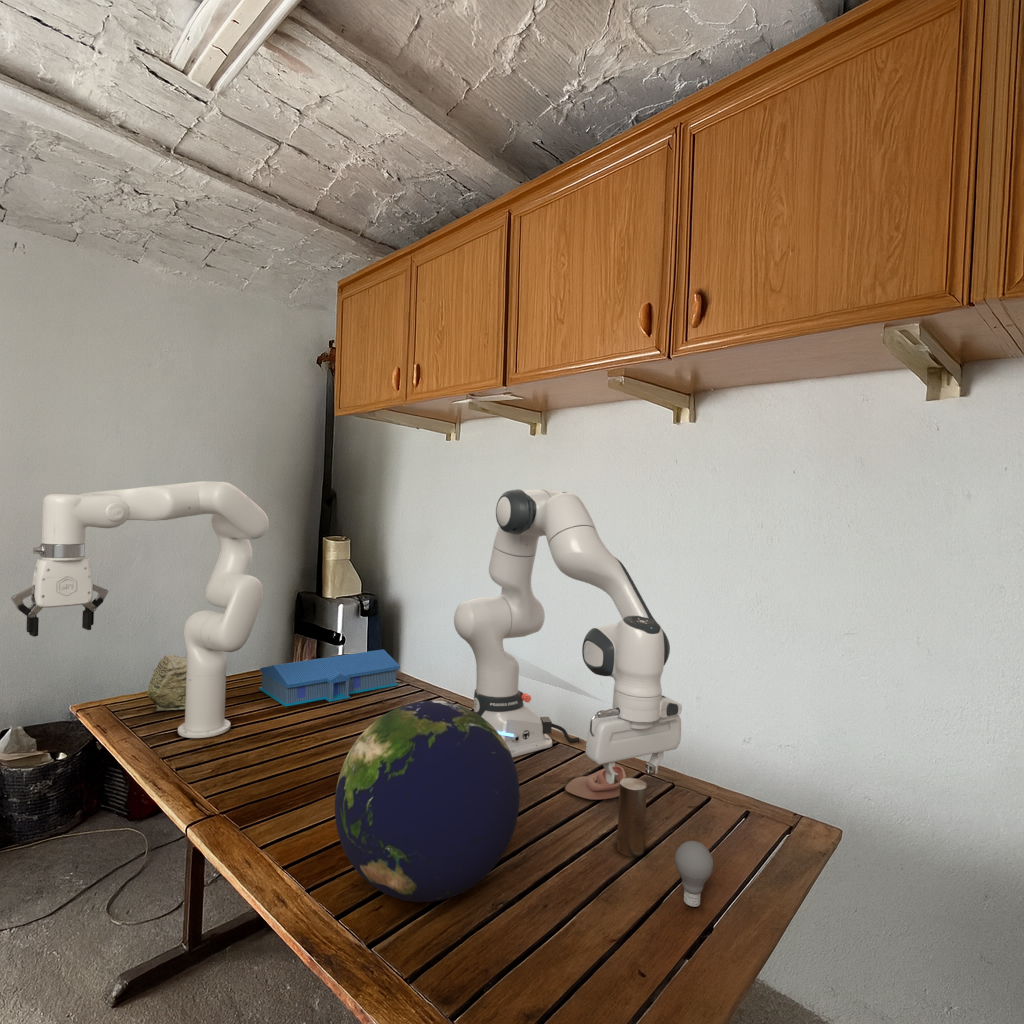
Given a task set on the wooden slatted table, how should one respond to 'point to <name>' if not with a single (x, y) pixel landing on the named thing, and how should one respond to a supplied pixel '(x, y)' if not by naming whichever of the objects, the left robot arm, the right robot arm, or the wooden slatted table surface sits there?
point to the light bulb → (693, 869)
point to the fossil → (169, 683)
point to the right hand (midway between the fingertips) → (631, 778)
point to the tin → (631, 817)
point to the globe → (427, 801)
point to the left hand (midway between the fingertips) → (60, 632)
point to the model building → (329, 677)
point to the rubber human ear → (596, 785)
